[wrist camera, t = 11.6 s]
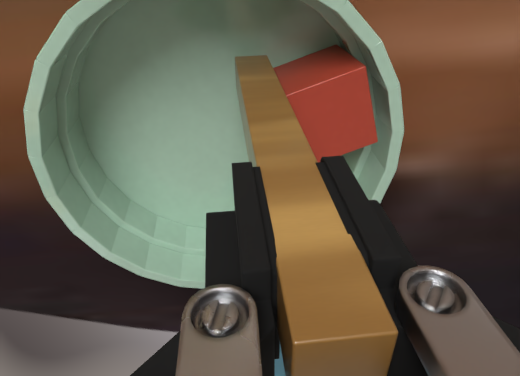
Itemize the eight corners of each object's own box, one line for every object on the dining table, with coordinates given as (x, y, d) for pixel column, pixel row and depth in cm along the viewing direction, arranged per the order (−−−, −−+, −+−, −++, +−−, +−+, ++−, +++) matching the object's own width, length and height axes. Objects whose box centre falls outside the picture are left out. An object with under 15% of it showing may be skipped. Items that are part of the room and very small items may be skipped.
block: (264, 70, 20) (279, 97, 17) (336, 43, 20) (366, 65, 17) (284, 135, 23) (301, 170, 19) (349, 111, 23) (378, 142, 19)
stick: (234, 56, 19) (292, 344, 6) (267, 54, 19) (399, 332, 6) (236, 88, 20) (290, 404, 6) (267, 86, 20) (383, 393, 7)
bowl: (120, -143, 16) (87, -167, 12) (430, 53, 22) (481, 84, 18) (31, 181, 24) (-8, 236, 19) (276, 261, 29) (287, 317, 25)
